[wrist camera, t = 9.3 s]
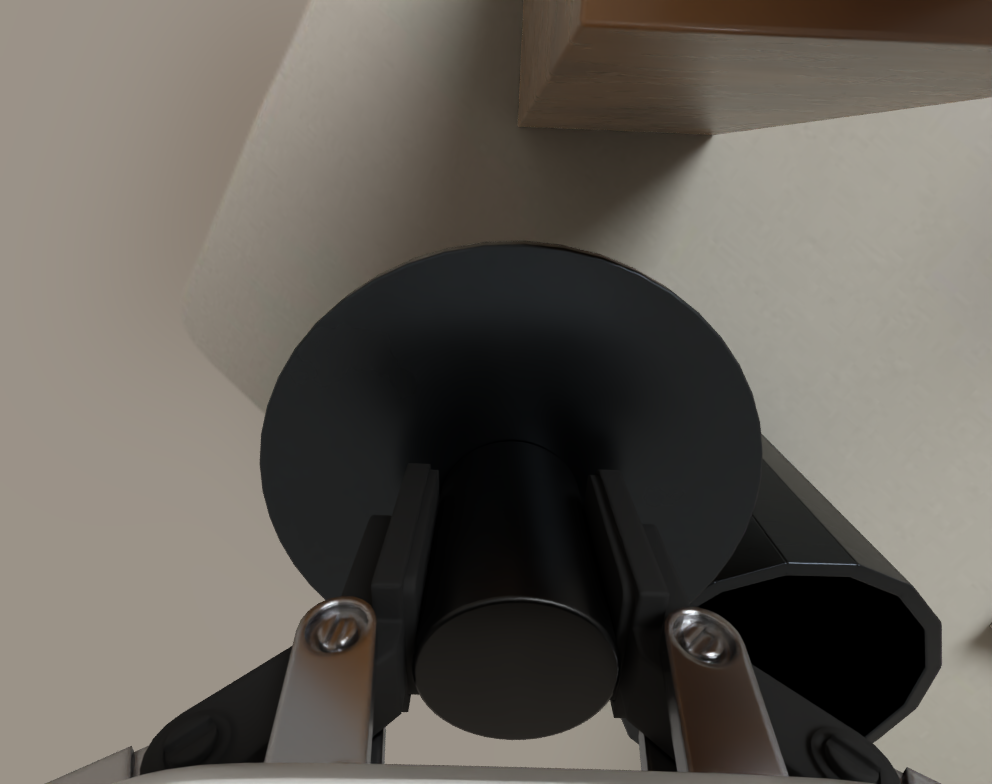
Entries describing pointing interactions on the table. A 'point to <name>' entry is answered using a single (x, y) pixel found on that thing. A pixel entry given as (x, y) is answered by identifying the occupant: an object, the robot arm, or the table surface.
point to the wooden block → (745, 61)
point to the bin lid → (512, 460)
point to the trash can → (824, 608)
